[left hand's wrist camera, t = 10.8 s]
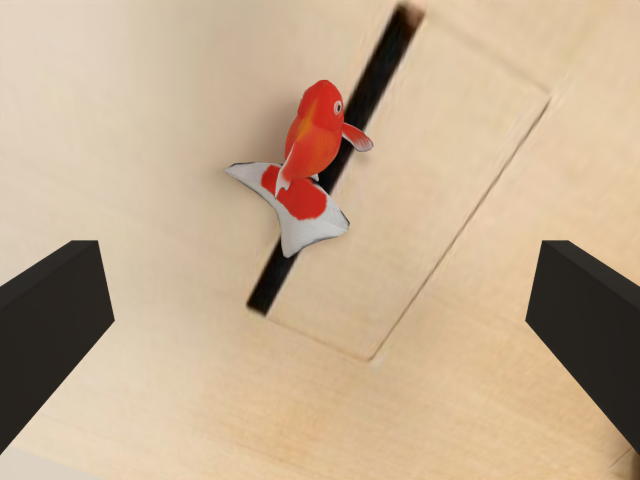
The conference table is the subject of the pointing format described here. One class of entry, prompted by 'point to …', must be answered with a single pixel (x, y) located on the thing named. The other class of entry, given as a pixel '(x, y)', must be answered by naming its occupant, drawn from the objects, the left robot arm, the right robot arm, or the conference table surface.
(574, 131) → the conference table surface
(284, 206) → the fish
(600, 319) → the left robot arm
